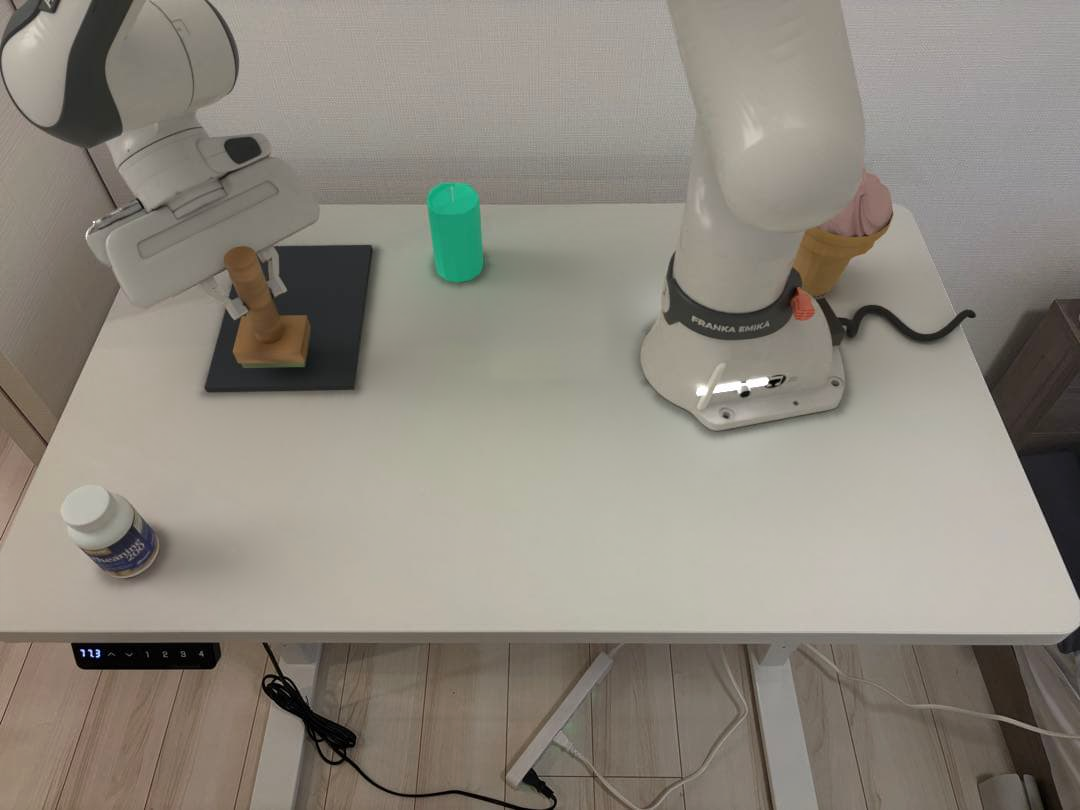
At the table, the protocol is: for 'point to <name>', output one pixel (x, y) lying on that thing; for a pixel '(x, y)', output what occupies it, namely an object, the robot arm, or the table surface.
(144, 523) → the pill bottle
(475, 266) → the candle
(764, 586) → the table surface
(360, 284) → the mat
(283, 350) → the wooden stamp
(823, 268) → the ice cream cone
